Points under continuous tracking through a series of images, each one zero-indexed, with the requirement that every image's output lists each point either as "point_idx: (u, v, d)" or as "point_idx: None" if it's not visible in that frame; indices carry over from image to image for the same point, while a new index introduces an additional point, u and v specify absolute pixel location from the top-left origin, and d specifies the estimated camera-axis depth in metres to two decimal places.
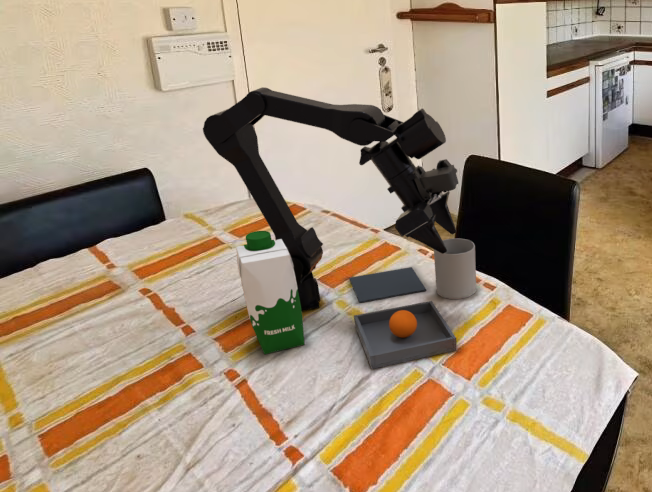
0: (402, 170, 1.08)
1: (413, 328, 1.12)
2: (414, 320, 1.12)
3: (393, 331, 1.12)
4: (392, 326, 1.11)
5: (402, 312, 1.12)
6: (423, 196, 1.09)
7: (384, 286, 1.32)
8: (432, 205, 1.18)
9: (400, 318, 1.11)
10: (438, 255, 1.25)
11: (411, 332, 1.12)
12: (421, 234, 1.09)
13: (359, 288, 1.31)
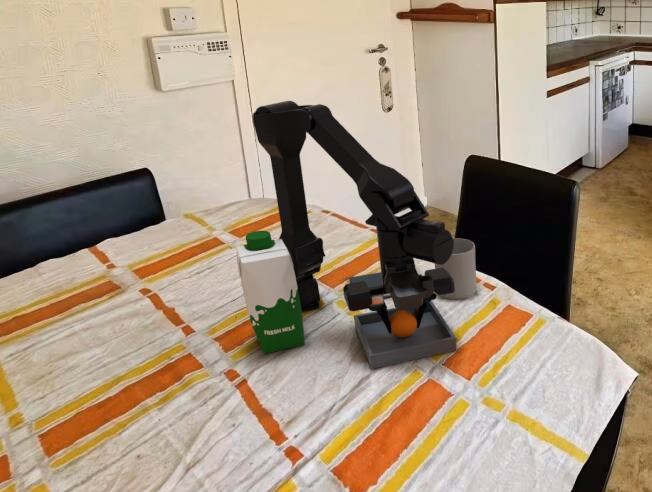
0: (394, 256, 1.04)
1: (413, 328, 1.12)
2: (414, 320, 1.12)
3: (393, 331, 1.12)
4: (392, 326, 1.11)
5: (402, 312, 1.12)
6: (385, 287, 1.06)
7: None
8: None
9: (400, 318, 1.11)
10: None
11: (411, 332, 1.12)
12: None
13: None
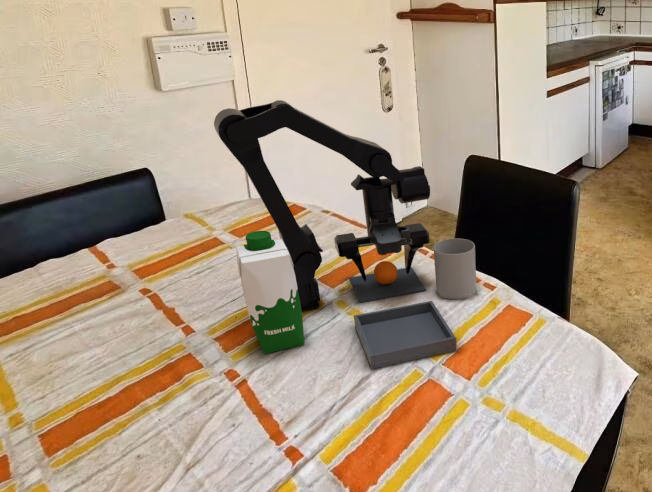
0: (390, 208, 1.24)
1: (394, 276, 1.31)
2: (395, 269, 1.32)
3: (377, 278, 1.31)
4: (376, 274, 1.31)
5: (385, 262, 1.31)
6: (369, 237, 1.25)
7: (384, 286, 1.32)
8: (406, 242, 1.32)
9: (383, 267, 1.30)
10: (438, 255, 1.25)
11: (392, 279, 1.31)
12: None
13: (359, 288, 1.31)
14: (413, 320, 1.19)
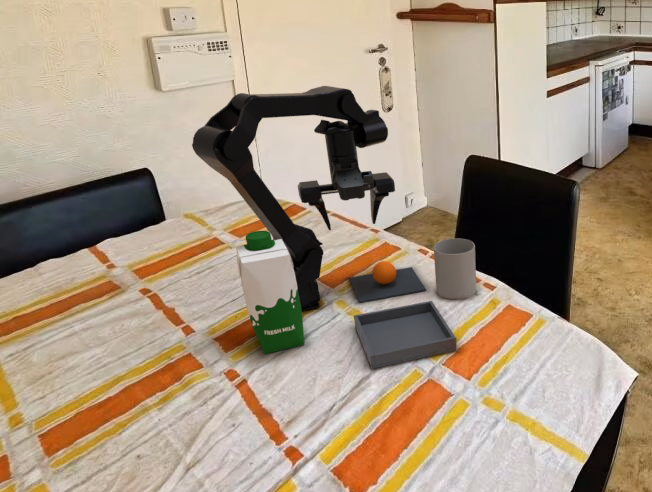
0: (356, 152, 1.24)
1: (393, 275, 1.31)
2: (393, 268, 1.31)
3: (376, 279, 1.31)
4: (374, 275, 1.31)
5: (382, 262, 1.31)
6: (332, 184, 1.24)
7: (384, 286, 1.32)
8: (372, 192, 1.30)
9: (381, 267, 1.30)
10: (438, 255, 1.25)
11: (391, 279, 1.31)
12: None
13: (359, 288, 1.31)
14: (413, 320, 1.19)
